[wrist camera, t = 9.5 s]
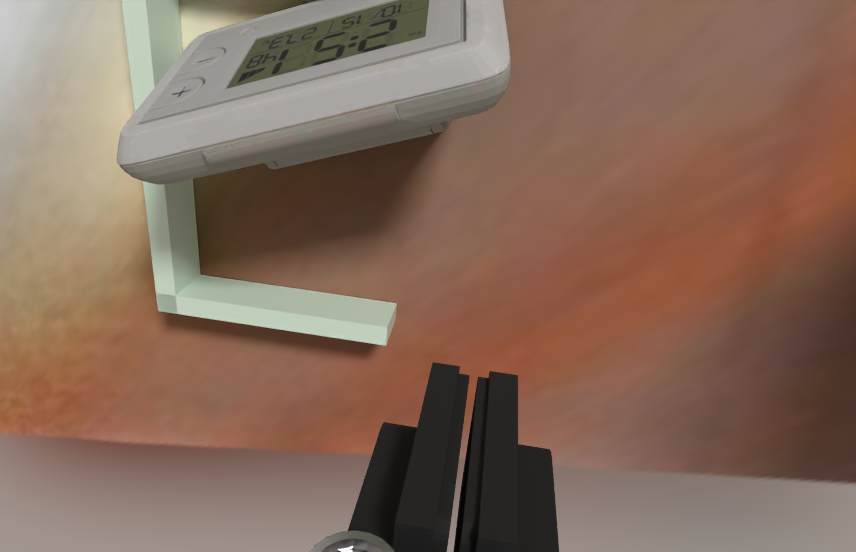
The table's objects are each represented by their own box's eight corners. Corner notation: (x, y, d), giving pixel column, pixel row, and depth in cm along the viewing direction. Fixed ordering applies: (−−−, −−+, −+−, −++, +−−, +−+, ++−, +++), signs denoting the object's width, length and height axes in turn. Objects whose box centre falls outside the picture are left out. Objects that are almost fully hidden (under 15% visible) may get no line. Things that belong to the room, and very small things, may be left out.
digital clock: (512, -44, 27) (512, -70, 18) (509, 149, 31) (508, 213, 22) (188, -25, 30) (33, -41, 20) (221, 153, 33) (103, 211, 24)
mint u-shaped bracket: (425, -57, 28) (416, -64, 25) (395, 320, 36) (385, 345, 34) (148, -84, 29) (110, -93, 26) (183, 288, 37) (157, 310, 35)
